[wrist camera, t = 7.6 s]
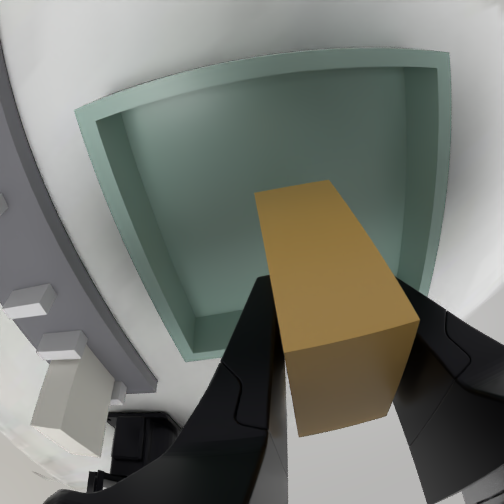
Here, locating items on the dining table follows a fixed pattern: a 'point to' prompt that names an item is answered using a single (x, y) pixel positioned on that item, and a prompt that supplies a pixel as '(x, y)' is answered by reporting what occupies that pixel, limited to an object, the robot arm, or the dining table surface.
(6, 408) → the dining table surface
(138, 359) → the block
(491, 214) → the dining table surface
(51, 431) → the block
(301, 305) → the block
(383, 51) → the tray
